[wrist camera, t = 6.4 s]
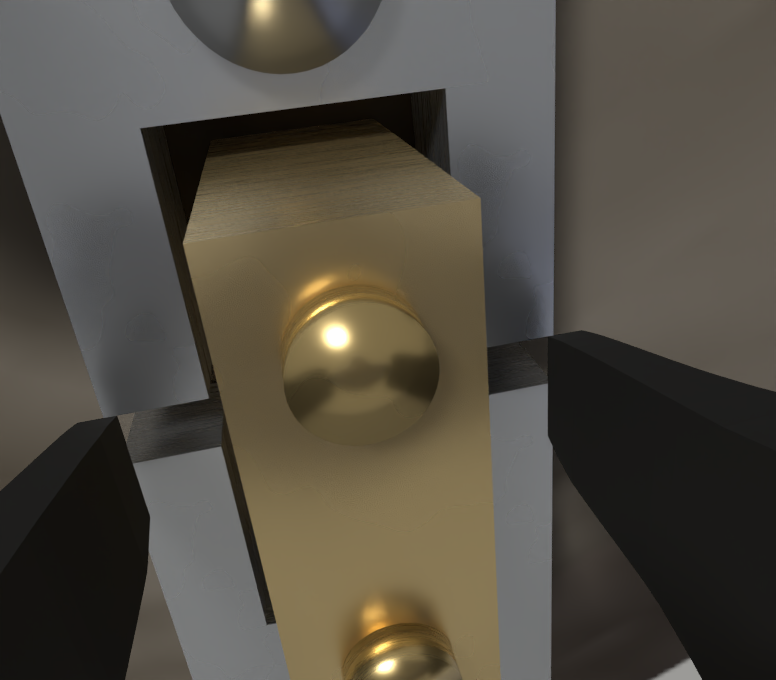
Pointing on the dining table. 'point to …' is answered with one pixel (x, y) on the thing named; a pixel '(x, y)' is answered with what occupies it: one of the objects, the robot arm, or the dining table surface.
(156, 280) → the grey slotted frame
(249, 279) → the gold bar with studs
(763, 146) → the dining table surface
